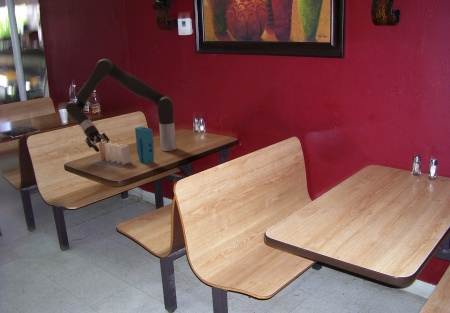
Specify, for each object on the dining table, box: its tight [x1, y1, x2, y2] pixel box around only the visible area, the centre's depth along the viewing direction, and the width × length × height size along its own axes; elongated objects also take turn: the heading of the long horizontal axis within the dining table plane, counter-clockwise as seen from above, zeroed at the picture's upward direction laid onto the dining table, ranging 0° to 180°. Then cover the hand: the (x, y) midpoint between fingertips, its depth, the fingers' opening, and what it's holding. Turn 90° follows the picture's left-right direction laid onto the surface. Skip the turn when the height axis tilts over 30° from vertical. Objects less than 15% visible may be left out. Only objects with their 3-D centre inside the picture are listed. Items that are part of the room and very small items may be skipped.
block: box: [134, 126, 155, 165], centre depth 265 cm, size 12×5×20 cm, turn 40°
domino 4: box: [121, 144, 131, 165], centre depth 265 cm, size 1×5×10 cm, turn 145°
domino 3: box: [115, 143, 124, 163], centre depth 267 cm, size 1×5×10 cm, turn 145°
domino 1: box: [104, 141, 113, 161], centre depth 272 cm, size 1×5×10 cm, turn 145°
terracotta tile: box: [98, 141, 107, 160], centre depth 275 cm, size 1×5×10 cm, turn 145°
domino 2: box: [110, 142, 119, 162], centre depth 270 cm, size 1×5×10 cm, turn 146°
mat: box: [87, 157, 134, 170], centre depth 269 cm, size 23×15×1 cm, turn 56°
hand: (104, 149), depth 274 cm, fingers open, 8 cm apart
